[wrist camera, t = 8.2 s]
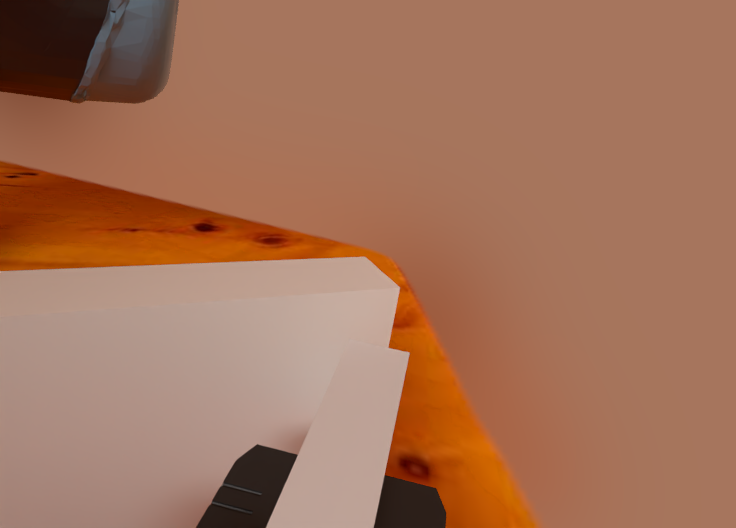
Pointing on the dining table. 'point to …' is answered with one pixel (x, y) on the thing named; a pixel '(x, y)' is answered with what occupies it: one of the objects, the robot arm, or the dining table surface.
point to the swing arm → (166, 379)
